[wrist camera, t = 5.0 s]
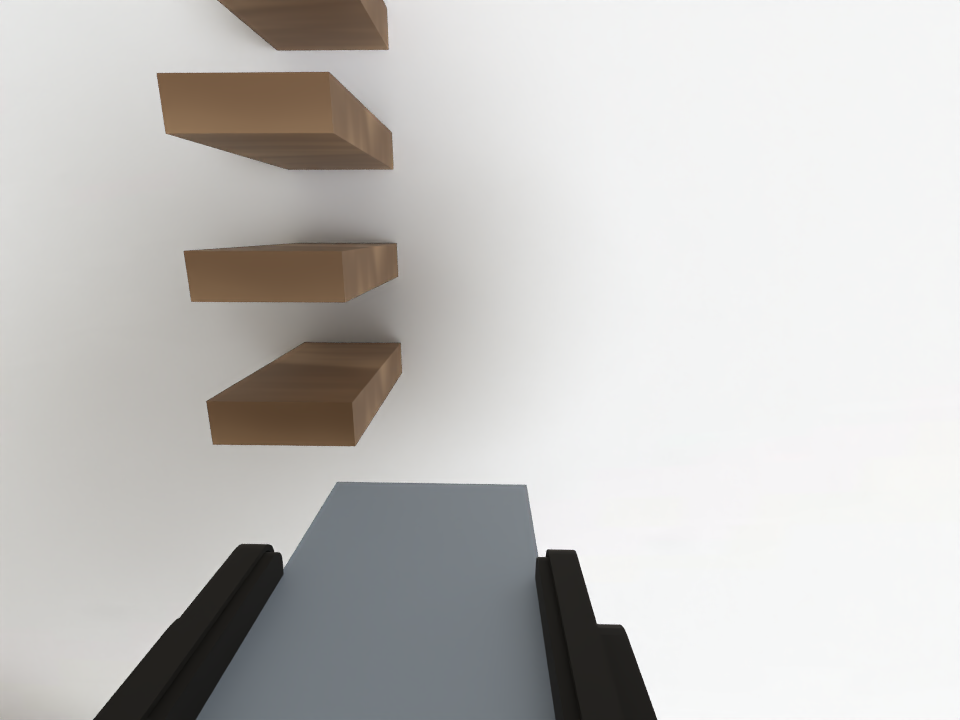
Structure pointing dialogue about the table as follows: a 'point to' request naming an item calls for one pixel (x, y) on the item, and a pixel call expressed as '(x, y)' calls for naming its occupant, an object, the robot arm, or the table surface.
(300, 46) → the walnut tile
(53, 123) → the table surface
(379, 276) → the walnut tile
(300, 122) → the walnut tile
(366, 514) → the blue grey rectangular block
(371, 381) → the walnut tile
